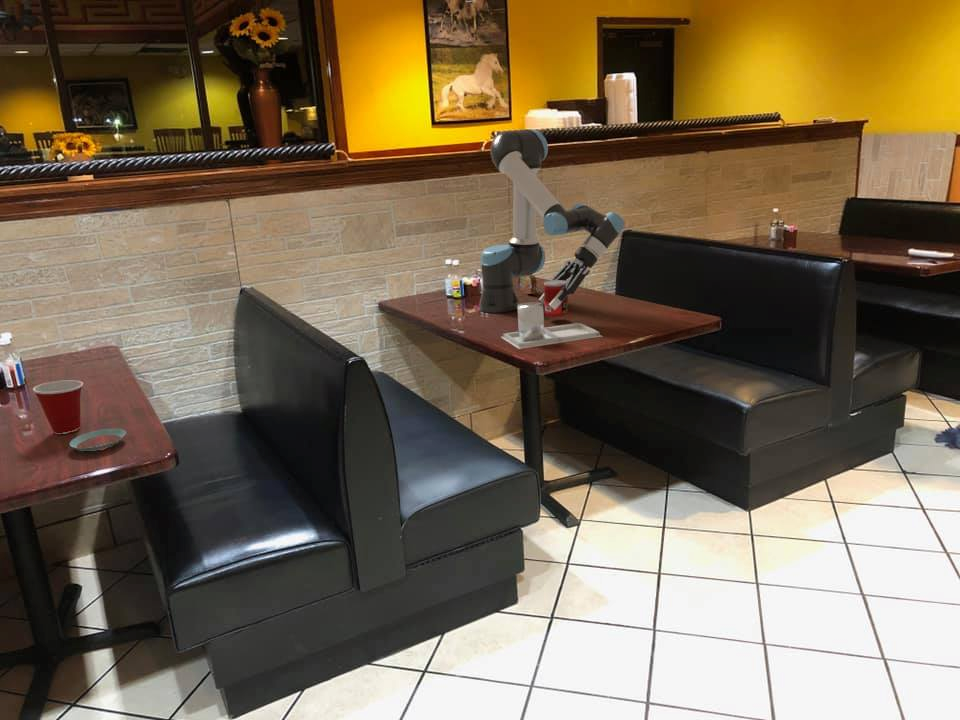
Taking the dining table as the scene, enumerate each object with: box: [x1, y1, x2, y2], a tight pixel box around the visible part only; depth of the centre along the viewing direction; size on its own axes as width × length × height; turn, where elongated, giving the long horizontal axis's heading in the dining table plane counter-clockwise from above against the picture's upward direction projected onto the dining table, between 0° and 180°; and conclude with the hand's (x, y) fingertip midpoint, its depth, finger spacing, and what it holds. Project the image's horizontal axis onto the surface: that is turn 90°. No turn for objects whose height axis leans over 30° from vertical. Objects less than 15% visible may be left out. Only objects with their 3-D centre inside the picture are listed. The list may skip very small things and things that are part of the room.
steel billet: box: [517, 301, 545, 342], centre depth 234 cm, size 8×8×11 cm
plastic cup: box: [32, 379, 84, 433], centre depth 183 cm, size 11×11×12 cm
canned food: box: [543, 279, 569, 317], centre depth 254 cm, size 8×8×11 cm
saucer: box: [69, 428, 127, 452], centre depth 174 cm, size 12×12×2 cm
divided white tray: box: [500, 322, 603, 350], centre depth 237 cm, size 16×28×3 cm, turn 109°
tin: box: [517, 274, 537, 295], centre depth 309 cm, size 15×3×8 cm, turn 18°
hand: (546, 304), depth 253 cm, fingers closed on canned food, 8 cm apart
